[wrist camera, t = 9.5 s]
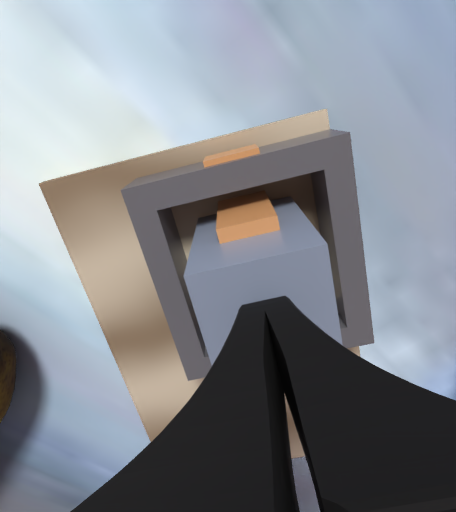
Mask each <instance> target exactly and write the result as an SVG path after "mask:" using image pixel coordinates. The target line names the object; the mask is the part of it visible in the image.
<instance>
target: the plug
mask: <svg viewBox="0 0 456 512" xmlns="http://www.w3.org/2000/svg"><path fill="white" fill-rule="evenodd" d="M184 279H185V283H186V286H187V289H188V292H189V295H190V298H191V302H192V305H193V308H194V311H195V314H196V317H197V321H198V324H199V327H200V330H201V333H202V337H203V340H204V343H205V346H206V349H207V352H208V356H209V359H210V362H211V365H213V363H214V362H215V360H216V358H217V356H218V355H219V353H220V351H221V349H222V347H223V345H224V343H225V341H226V339H227V337H228V335H229V333H230V331H231V328H232V326H233V324H234V321H235V319H236V316H237V313H238V310H239V308H240V307H241V305H244V304H248V303H253V302H258V301H262V300H267V299H271V298H276V297H280V296H286V297H288V298H290V300H291V301H292V302H293V303H294V305H295V306H296V307H297V308H298V309H299V310H300V311H301V312H302V313H303V314H304V315H305V316H306V317H308V318H309V319H310V320H311V321H312V322H313V323H314V324H316V325H317V326H318V327H319V328H320V329H322V330H323V331H324V332H325V333H326V334H328V335H329V336H330V337H332V338H333V339H334V340H336V341H337V342H339V343H340V344H341V345H343V344H342V337H341V330H340V324H339V317H338V310H337V304H336V297H335V290H334V284H333V277H332V270H331V264H330V257H329V250H328V244H327V243H326V241H325V240H324V239H323V237H322V236H321V235H320V234H319V232H318V231H317V230H316V228H315V227H314V226H313V225H312V223H311V222H310V221H309V220H308V218H307V217H306V216H305V214H304V213H303V212H302V211H301V209H300V208H299V207H298V205H297V204H296V203H295V202H294V200H293V199H292V198H291V196H289V197H284V198H280V199H276V200H272V201H270V200H269V198H268V196H267V194H266V192H265V190H263V191H259V192H255V193H251V194H247V195H243V196H238V197H234V198H230V199H226V200H222V201H218V209H217V214H213V215H209V216H205V217H200V218H198V222H197V225H196V229H195V233H194V237H193V241H192V245H191V249H190V253H189V257H188V261H187V265H186V269H185V273H184Z"/></svg>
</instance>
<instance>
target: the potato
mask: <svg viewBox="0 0 456 512" xmlns="http://www.w3.org/2000/svg"><path fill="white" fill-rule="evenodd" d="M15 378H16V352H15V348H14V345H13V344H12V342H11V341H10V340H9V339H8V337H7V336H6V335H5V334H4V333H3V332H2V331H1V330H0V423H1V421H2V419H3V417H4V416H5V414H6V412H7V410H8V408H9V406H10V402H11V398H12V395H13V391H14V386H15Z"/></svg>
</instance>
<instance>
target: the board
mask: <svg viewBox="0 0 456 512" xmlns="http://www.w3.org/2000/svg"><path fill="white" fill-rule="evenodd" d="M328 129H330V128H329V120H328V113H327V109H323V110H319V111H315V112H311V113H307V114H303V115H299V116H296V117H292V118H288V119H284V120H280V121H276V122H272V123H269V124H265V125H261V126H257V127H253V128H249V129H245V130H241V131H238V132H234V133H230V134H226V135H222V136H218V137H214V138H210V139H207V140H203V141H199V142H195V143H191V144H187V145H183V146H179V147H176V148H172V149H168V150H164V151H160V152H156V153H152V154H149V155H145V156H141V157H137V158H133V159H129V160H125V161H121V162H118V163H114V164H110V165H106V166H102V167H98V168H94V169H90V170H87V171H83V172H79V173H75V174H71V175H67V176H63V177H60V178H56V179H52V180H48V181H44V182H42V183H39V186H40V188H41V190H42V193H43V195H44V197H45V199H46V202H47V204H48V206H49V209H50V211H51V213H52V216H53V218H54V220H55V222H56V225H57V227H58V229H59V232H60V234H61V236H62V239H63V241H64V243H65V245H66V248H67V250H68V252H69V255H70V257H71V259H72V262H73V264H74V266H75V268H76V271H77V273H78V275H79V278H80V280H81V282H82V285H83V287H84V289H85V292H86V294H87V296H88V298H89V301H90V303H91V305H92V308H93V310H94V312H95V315H96V317H97V319H98V321H99V324H100V326H101V328H102V331H103V333H104V335H105V338H106V340H107V342H108V344H109V347H110V349H111V351H112V354H113V356H114V358H115V361H116V363H117V365H118V367H119V370H120V372H121V374H122V377H123V379H124V381H125V384H126V386H127V388H128V390H129V393H130V395H131V397H132V400H133V402H134V404H135V407H136V409H137V411H138V414H139V416H140V418H141V420H142V423H143V425H144V427H145V430H146V432H147V434H148V437H149V439H150V441H151V442H152V441H153V440H154V439H155V438H156V437H157V436H158V435H159V434H160V433H161V432H162V431H163V429H164V428H165V427H166V426H167V425H168V424H169V423H170V421H171V420H172V419H173V418H174V417H175V416H176V415H177V414H178V412H179V411H180V410H181V409H182V408H183V407H184V406H185V404H186V403H187V402H188V401H189V399H190V398H191V397H192V395H193V394H194V393H195V391H196V390H197V388H198V387H199V386H200V384H201V383H202V381H203V380H204V378H200V379H195V380H190V381H188V379H187V377H186V374H185V371H184V368H183V365H182V362H181V360H180V357H179V354H178V351H177V348H176V345H175V343H174V340H173V337H172V334H171V331H170V329H169V326H168V323H167V320H166V317H165V314H164V312H163V309H162V306H161V303H160V300H159V298H158V295H157V292H156V289H155V286H154V283H153V281H152V278H151V275H150V272H149V269H148V267H147V264H146V261H145V258H144V255H143V252H142V250H141V247H140V244H139V241H138V238H137V236H136V233H135V230H134V227H133V224H132V221H131V219H130V216H129V213H128V210H127V207H126V205H125V202H124V199H123V196H122V193H121V189H123V188H124V187H125V186H127V185H128V184H129V183H131V182H132V181H133V180H135V179H136V178H139V177H143V176H147V175H151V174H155V173H159V172H163V171H167V170H171V169H175V168H179V167H183V166H186V165H190V164H194V163H198V162H202V161H203V160H204V158H205V157H206V156H210V155H214V154H218V153H222V152H226V151H230V150H233V149H237V148H241V147H245V146H249V145H253V144H256V145H257V146H258V147H261V146H265V145H269V144H273V143H277V142H281V141H285V140H289V139H293V138H297V137H301V136H305V135H309V134H313V133H317V132H321V131H324V130H328ZM263 190H265V192H266V194H267V196H268V198H269V200H270V201H272V200H276V199H280V198H284V197H289V196H291V198H292V199H293V200H294V202H295V203H296V204H297V205H298V207H299V208H300V209H301V211H302V212H303V213H304V214H305V216H306V217H307V218H308V220H309V221H310V222H311V223H312V225H313V226H314V227H315V228H316V230H317V231H318V232H319V234H320V229H319V223H318V216H317V210H316V204H315V197H314V191H313V185H312V179H311V173H308V174H304V175H300V176H296V177H292V178H288V179H284V180H280V181H276V182H271V183H267V184H263V185H259V186H255V187H251V188H247V189H243V190H239V191H235V192H231V193H227V194H222V195H218V196H214V197H210V198H206V199H202V200H198V201H194V202H190V203H186V204H182V205H178V206H174V207H171V210H172V213H173V216H174V220H175V223H176V226H177V229H178V233H179V236H180V239H181V242H182V245H183V249H184V252H185V255H186V258H187V261H188V257H189V253H190V249H191V245H192V241H193V237H194V233H195V229H196V225H197V222H198V218H200V217H205V216H209V215H213V214H217V209H218V201H222V200H226V199H230V198H234V197H238V196H243V195H247V194H251V193H255V192H259V191H263ZM347 349H349V350H350V351H352V352H353V353H355V354H356V355H358V356H359V357H360V351H359V346H357V347H352V348H347ZM284 394H285V393H284ZM285 403H286V413H287V422H288V431H289V441H290V450H291V459H293V458H298V457H303V456H305V454H304V451H303V448H302V445H301V442H300V439H299V436H298V433H297V430H296V427H295V424H294V420H293V417H292V414H291V411H290V408H289V405H288V402H287V399H286V396H285Z"/></svg>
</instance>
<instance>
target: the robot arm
mask: <svg viewBox="0 0 456 512" xmlns="http://www.w3.org/2000/svg"><path fill="white" fill-rule="evenodd" d="M284 393H285V394H284ZM285 396H286V399H287V402H288V405H289V408H290V411H291V414H292V417H293V420H294V424H295V427H296V430H297V433H298V436H299V439H300V442H301V445H302V448H303V451H304V454H305V457H306V460H307V463H308V466H309V469H310V473H311V476H312V480H313V484H314V487H315V491H316V495H317V499H318V504H319V508H320V512H456V401H455V400H453V399H450V398H447V397H445V396H442V395H439V394H436V393H434V392H431V391H429V390H427V389H424V388H422V387H419V386H417V385H415V384H412V383H410V382H408V381H406V380H404V379H402V378H399V377H397V376H395V375H393V374H391V373H389V372H387V371H385V370H383V369H381V368H379V367H377V366H375V365H373V364H371V363H370V362H368V361H366V360H364V359H363V358H361V357H359V356H358V355H356V354H355V353H353V352H352V351H350V350H349V349H347V348H346V347H344V346H343V345H341V344H340V343H339V342H337V341H336V340H334V339H333V338H332V337H330V336H329V335H328V334H326V333H325V332H324V331H323V330H322V329H320V328H319V327H318V326H317V325H316V324H314V323H313V322H312V321H311V320H310V319H309V318H308V317H306V316H305V315H304V314H303V313H302V312H301V311H300V310H299V309H298V308H297V307H296V306H295V305H294V303H293V302H292V301H291V300H290V298H288V297H286V296H280V297H276V298H271V299H267V300H262V301H258V302H253V303H248V304H244V305H241V307H240V308H239V310H238V313H237V316H236V319H235V321H234V324H233V326H232V328H231V331H230V333H229V335H228V337H227V339H226V341H225V343H224V345H223V347H222V349H221V351H220V353H219V355H218V356H217V358H216V360H215V362H214V363H213V365H212V367H211V368H210V370H209V372H208V373H207V375H206V377H205V378H204V380H203V381H202V383H201V384H200V386H199V387H198V388H197V390H196V391H195V393H194V394H193V395H192V397H191V398H190V399H189V401H188V402H187V403H186V404H185V406H184V407H183V408H182V409H181V410H180V411H179V412H178V414H177V415H176V416H175V417H174V418H173V419H172V420H171V421H170V423H169V424H168V425H167V426H166V427H165V428H164V429H163V431H162V432H161V433H160V434H159V435H158V436H157V437H156V438H155V439H154V440H153V441H152V442H151V443H150V444H149V445H148V446H147V447H146V448H145V449H144V450H143V451H142V452H140V453H139V454H138V455H137V456H136V457H135V458H134V459H133V460H132V461H131V462H130V463H129V464H128V465H126V466H125V467H124V468H123V469H122V470H121V471H120V472H118V473H117V474H116V475H115V476H114V477H113V478H111V479H110V480H109V481H108V482H107V483H105V484H104V485H103V486H102V487H100V488H99V489H98V490H97V491H96V492H94V493H93V494H92V495H91V496H89V497H88V498H87V499H86V500H84V501H83V502H82V503H81V504H80V505H78V506H77V507H76V508H75V509H73V510H72V511H71V512H300V511H299V506H298V501H297V496H296V490H295V483H294V476H293V469H292V460H291V450H290V441H289V431H288V422H287V413H286V403H285Z"/></svg>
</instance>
